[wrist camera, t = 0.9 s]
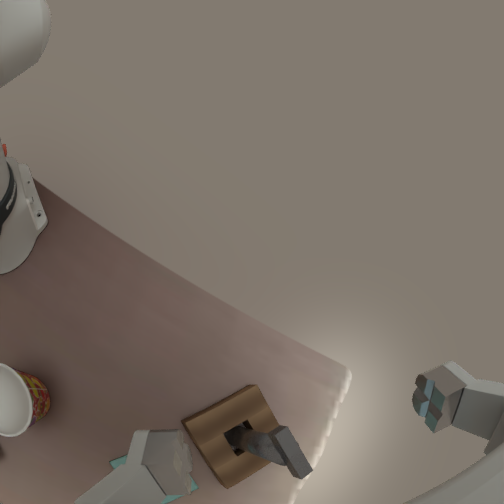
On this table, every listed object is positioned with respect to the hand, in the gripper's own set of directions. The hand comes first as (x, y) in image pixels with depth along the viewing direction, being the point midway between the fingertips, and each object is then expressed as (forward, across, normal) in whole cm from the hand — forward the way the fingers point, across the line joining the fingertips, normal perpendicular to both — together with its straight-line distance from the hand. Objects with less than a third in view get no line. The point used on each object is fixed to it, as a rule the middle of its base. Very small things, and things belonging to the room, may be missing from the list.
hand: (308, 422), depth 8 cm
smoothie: (+22, +35, +15) cm, 44 cm away
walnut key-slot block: (+28, +6, +30) cm, 41 cm away
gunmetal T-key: (+28, +6, +30) cm, 41 cm away
